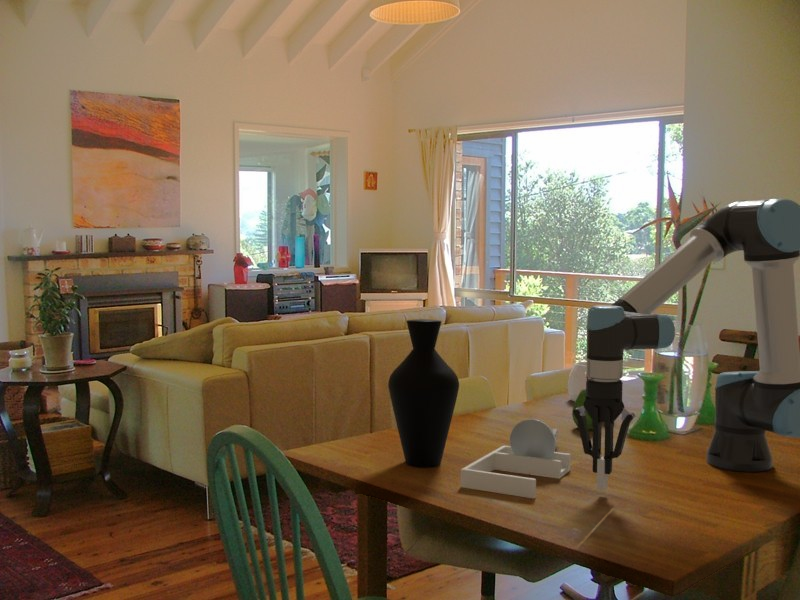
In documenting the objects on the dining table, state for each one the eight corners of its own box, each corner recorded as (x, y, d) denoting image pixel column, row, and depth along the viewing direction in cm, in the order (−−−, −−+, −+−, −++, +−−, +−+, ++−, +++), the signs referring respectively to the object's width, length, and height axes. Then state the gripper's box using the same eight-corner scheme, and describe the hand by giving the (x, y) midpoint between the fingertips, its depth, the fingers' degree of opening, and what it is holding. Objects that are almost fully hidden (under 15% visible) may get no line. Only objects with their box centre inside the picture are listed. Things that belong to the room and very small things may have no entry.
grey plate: (555, 467, 199) (556, 421, 198) (553, 468, 198) (554, 422, 197) (511, 461, 204) (512, 416, 204) (509, 462, 203) (510, 417, 203)
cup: (562, 400, 289) (563, 361, 288) (600, 399, 291) (600, 360, 290) (574, 407, 276) (575, 366, 275) (613, 407, 277) (614, 366, 277)
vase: (376, 469, 202) (377, 322, 199) (403, 452, 217) (403, 316, 215) (445, 477, 195) (446, 325, 193) (467, 459, 211) (468, 319, 209)
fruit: (591, 426, 249) (592, 385, 248) (606, 432, 241) (606, 390, 241) (567, 428, 246) (567, 387, 246) (581, 434, 239) (581, 391, 238)
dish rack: (570, 470, 201) (570, 453, 201) (534, 498, 179) (534, 479, 179) (503, 461, 209) (503, 445, 209) (460, 487, 187) (461, 469, 187)
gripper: (639, 378, 180) (636, 488, 181) (579, 373, 186) (577, 479, 188) (631, 383, 173) (628, 497, 175) (568, 378, 179) (566, 488, 181)
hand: (601, 488), depth 181 cm, fingers closed
